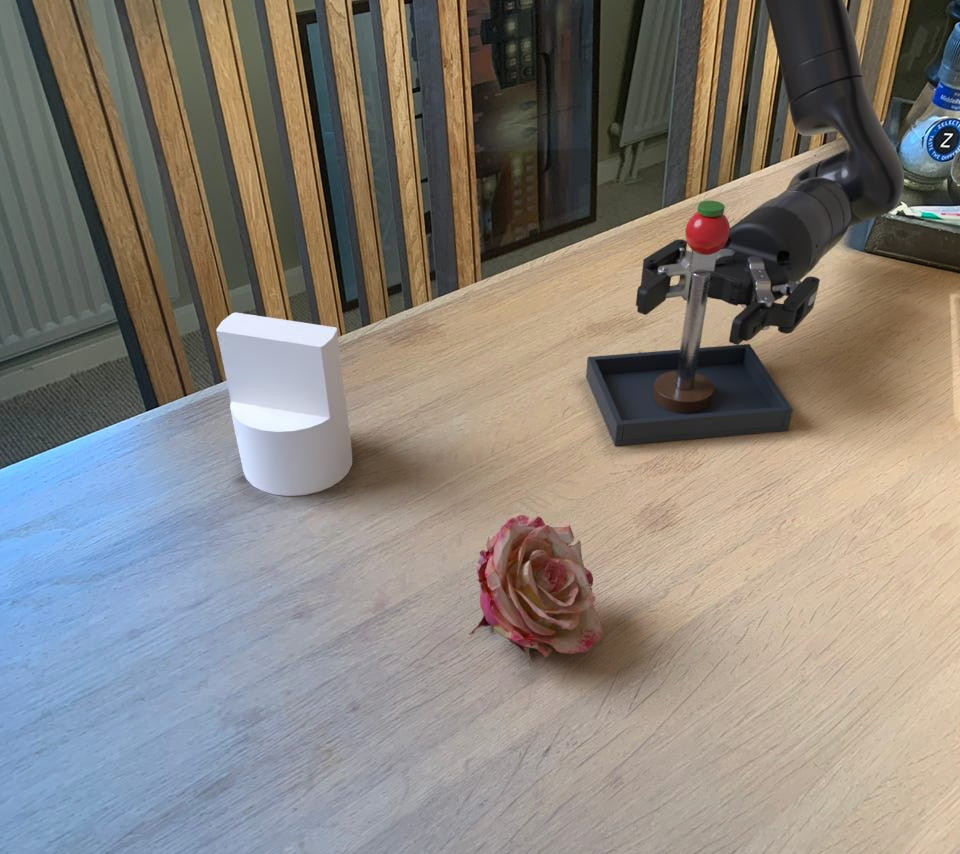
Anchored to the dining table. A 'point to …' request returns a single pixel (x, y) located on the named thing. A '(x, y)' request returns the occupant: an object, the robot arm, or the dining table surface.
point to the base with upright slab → (286, 403)
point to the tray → (639, 419)
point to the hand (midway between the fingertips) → (687, 317)
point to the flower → (537, 588)
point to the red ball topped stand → (695, 313)
